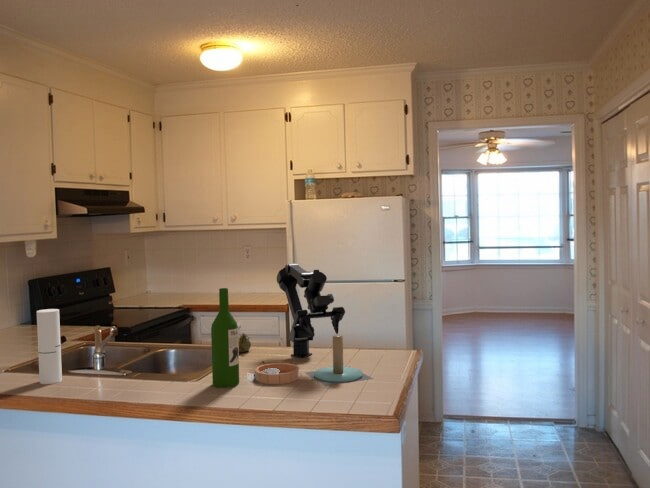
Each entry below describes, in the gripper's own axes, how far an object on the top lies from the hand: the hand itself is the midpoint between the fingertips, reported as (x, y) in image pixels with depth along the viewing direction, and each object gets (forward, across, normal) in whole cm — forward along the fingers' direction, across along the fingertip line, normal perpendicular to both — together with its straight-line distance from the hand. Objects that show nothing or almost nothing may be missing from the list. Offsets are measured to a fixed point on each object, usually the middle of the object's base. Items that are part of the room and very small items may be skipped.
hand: (325, 334), depth 212 cm
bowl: (+10, -19, +9) cm, 23 cm away
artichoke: (-21, -20, +42) cm, 51 cm away
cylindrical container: (-11, -92, +31) cm, 98 cm away
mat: (+15, +2, +4) cm, 16 cm away
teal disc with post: (+15, +2, +4) cm, 15 cm away
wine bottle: (+10, -37, +10) cm, 39 cm away
